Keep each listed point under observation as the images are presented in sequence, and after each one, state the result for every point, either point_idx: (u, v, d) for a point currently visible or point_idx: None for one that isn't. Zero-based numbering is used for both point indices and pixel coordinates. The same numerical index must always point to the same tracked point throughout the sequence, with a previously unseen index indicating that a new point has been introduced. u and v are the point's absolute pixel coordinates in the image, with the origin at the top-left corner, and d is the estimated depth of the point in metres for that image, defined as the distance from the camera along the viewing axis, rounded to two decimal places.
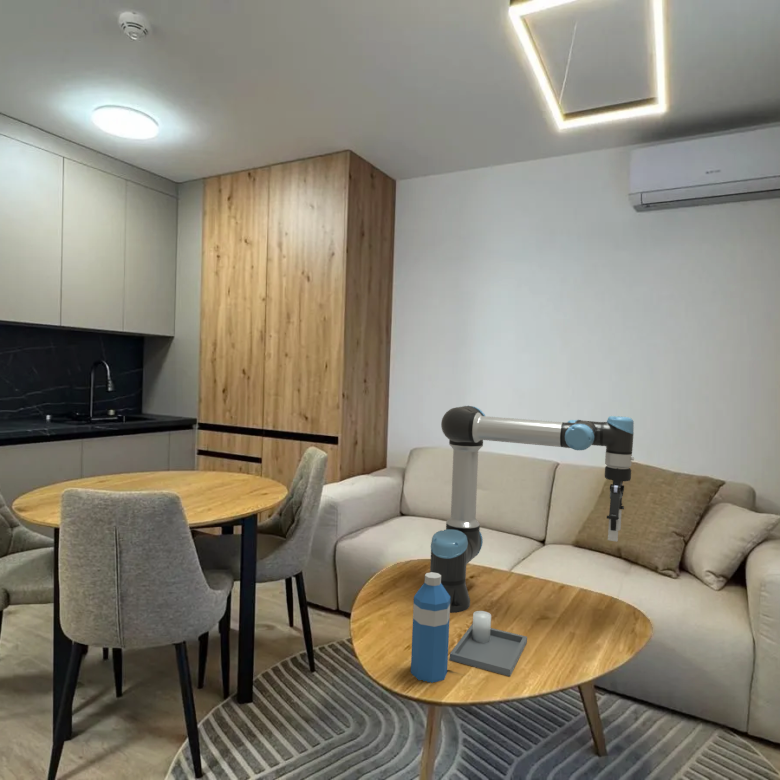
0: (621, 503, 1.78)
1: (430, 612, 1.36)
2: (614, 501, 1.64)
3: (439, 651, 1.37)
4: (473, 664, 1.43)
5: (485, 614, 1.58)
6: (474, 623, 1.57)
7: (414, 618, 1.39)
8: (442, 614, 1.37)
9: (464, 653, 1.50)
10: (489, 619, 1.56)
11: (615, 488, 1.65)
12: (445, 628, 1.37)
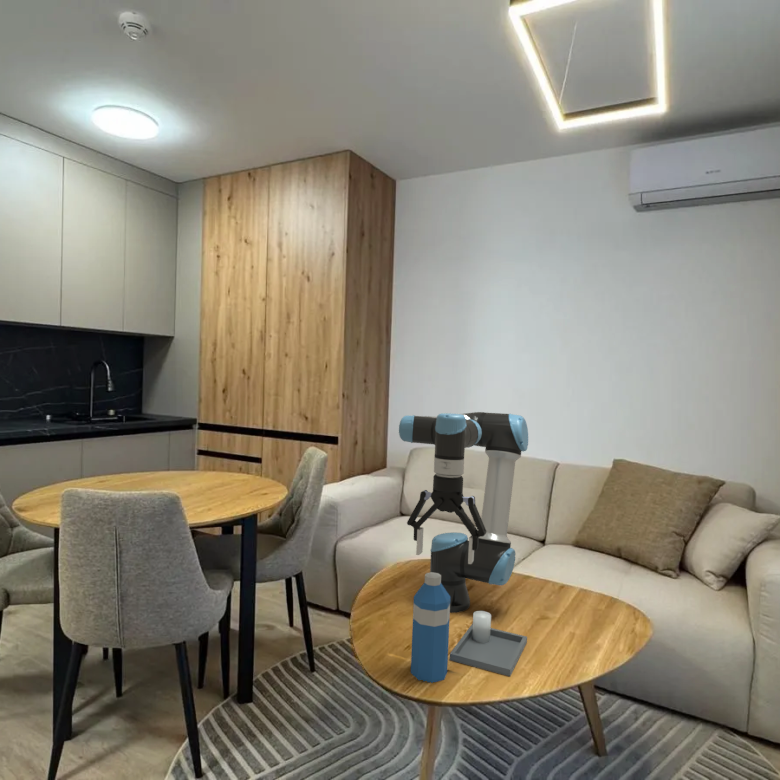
0: (473, 530, 1.37)
1: (430, 612, 1.36)
2: None
3: (439, 651, 1.37)
4: (473, 664, 1.43)
5: (485, 614, 1.58)
6: (474, 623, 1.57)
7: (414, 618, 1.39)
8: (442, 614, 1.37)
9: (464, 653, 1.50)
10: (489, 619, 1.56)
11: None
12: (445, 628, 1.37)
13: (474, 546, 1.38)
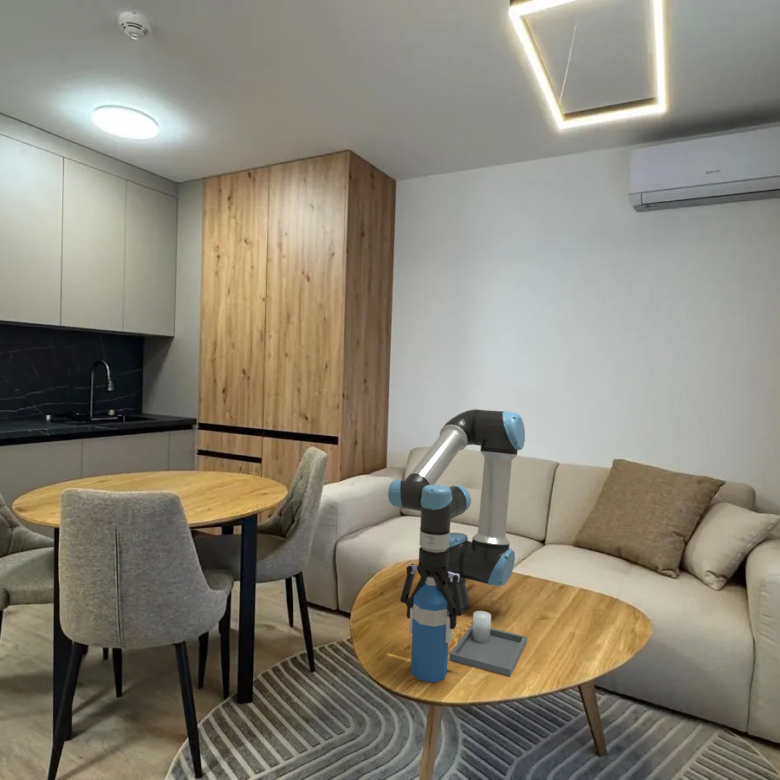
0: (451, 609, 1.37)
1: (430, 612, 1.36)
2: None
3: (439, 651, 1.37)
4: (473, 664, 1.43)
5: (485, 614, 1.58)
6: (474, 623, 1.57)
7: (414, 618, 1.39)
8: (442, 614, 1.37)
9: (464, 653, 1.50)
10: (489, 619, 1.56)
11: None
12: (445, 628, 1.37)
13: (452, 625, 1.37)
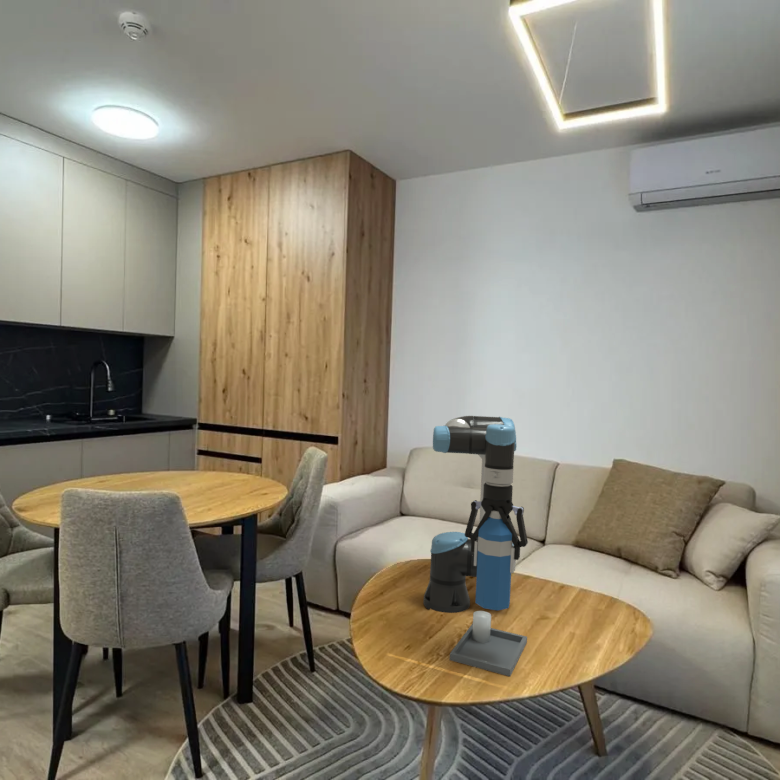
0: (516, 540, 1.44)
1: (495, 543, 1.43)
2: None
3: (504, 581, 1.44)
4: (473, 664, 1.43)
5: (485, 614, 1.58)
6: (474, 623, 1.57)
7: (479, 550, 1.46)
8: (507, 545, 1.44)
9: (464, 653, 1.50)
10: (489, 619, 1.56)
11: None
12: (509, 559, 1.44)
13: (516, 556, 1.44)
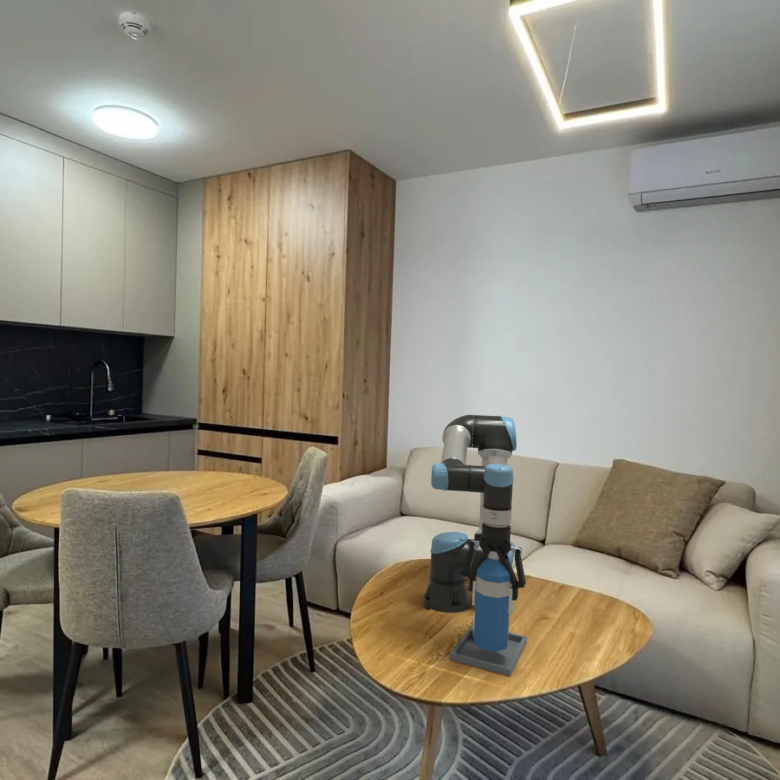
0: (514, 581, 1.44)
1: (494, 584, 1.43)
2: None
3: (502, 621, 1.44)
4: (473, 664, 1.43)
5: None
6: (474, 623, 1.57)
7: (477, 590, 1.47)
8: (505, 586, 1.44)
9: (464, 653, 1.50)
10: None
11: None
12: (508, 599, 1.45)
13: (514, 596, 1.45)
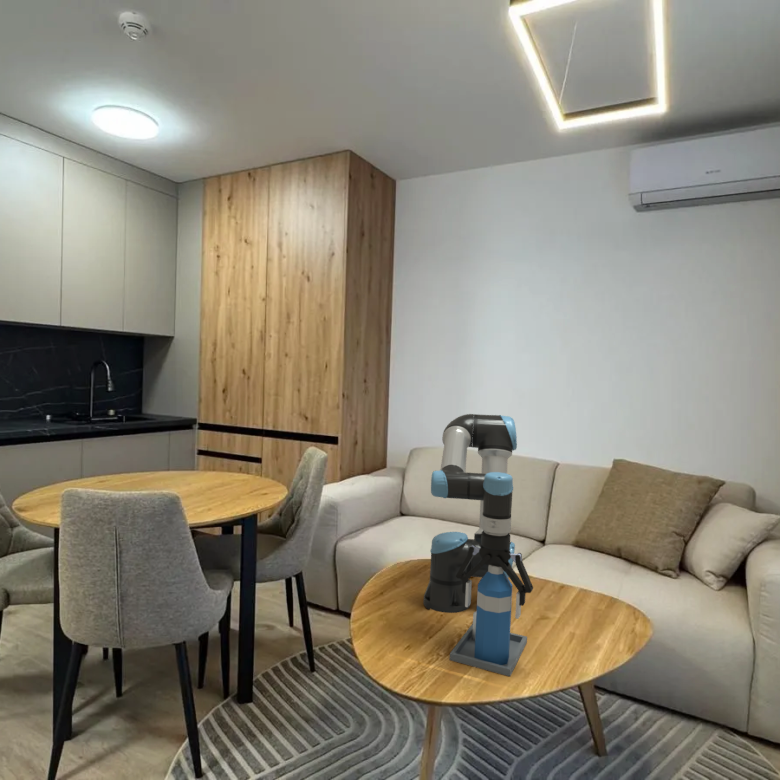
0: (520, 586, 1.43)
1: (494, 599, 1.43)
2: None
3: (503, 636, 1.44)
4: (473, 664, 1.43)
5: None
6: (474, 623, 1.57)
7: (478, 605, 1.47)
8: (506, 601, 1.44)
9: (464, 653, 1.50)
10: None
11: None
12: (508, 614, 1.45)
13: (521, 601, 1.44)
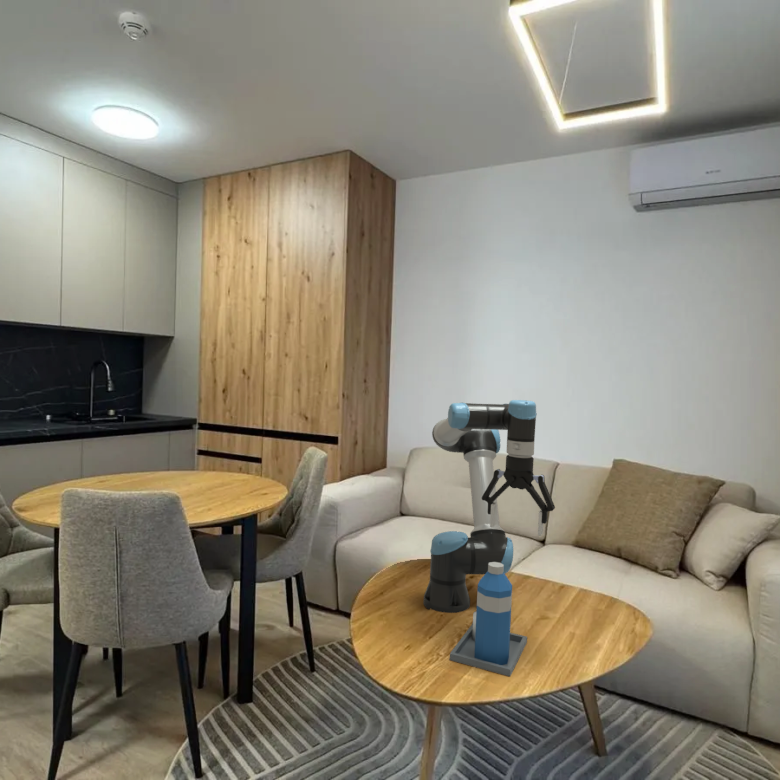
0: (542, 505, 1.52)
1: (494, 599, 1.43)
2: None
3: (503, 636, 1.44)
4: (473, 664, 1.43)
5: None
6: (474, 623, 1.57)
7: (478, 605, 1.47)
8: (506, 601, 1.44)
9: (464, 653, 1.50)
10: None
11: None
12: (508, 615, 1.45)
13: (543, 520, 1.52)
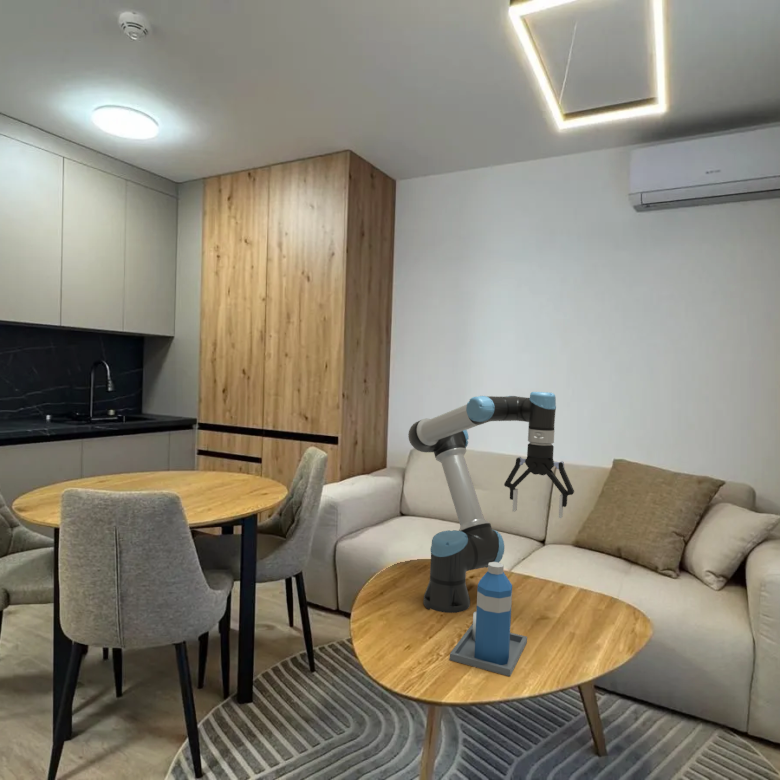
0: (563, 489, 1.63)
1: (494, 599, 1.43)
2: None
3: (503, 636, 1.44)
4: (473, 664, 1.43)
5: None
6: (474, 623, 1.57)
7: (478, 605, 1.47)
8: (506, 601, 1.44)
9: (464, 653, 1.50)
10: None
11: None
12: (508, 615, 1.45)
13: (564, 503, 1.63)
